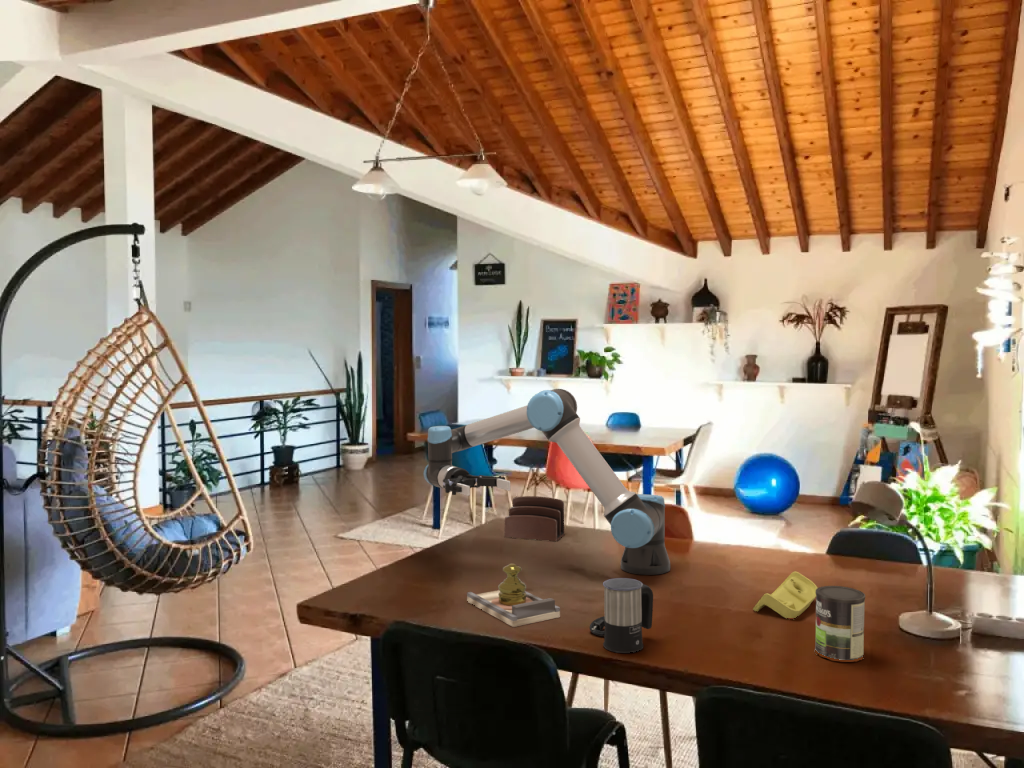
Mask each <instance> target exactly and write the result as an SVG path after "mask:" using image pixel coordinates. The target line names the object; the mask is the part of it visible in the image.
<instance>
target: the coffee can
mask: <svg viewBox="0 0 1024 768" xmlns="http://www.w3.org/2000/svg"><path fill="white" fill-rule="evenodd" d="M865 600H866V594H865V593H864V592H863V591H860V590H859V589H856V588H853V587H848V586H842V585H824V586H820V587H818V588H817V589H816V598H815V639H814V640H815V642H814V643H815V646H814V651H815V650H816V651H817V652H818V653H820V654H822V655H824V656H827V657H830V658H834V659H839V660H854V659H858V658H861V657H863V655H864V653H865V651H864V646H865V643H864V642H865V640H864V638H865V637H864V636H865ZM864 656H865V655H864Z"/></svg>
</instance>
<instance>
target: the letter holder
mask: <svg viewBox="0 0 1024 768" xmlns="http://www.w3.org/2000/svg"><path fill="white" fill-rule="evenodd" d="M564 536H565V503H564V501H563V500H562V499H560V498H559V499H558V498H554V497H547V496H546V497H545V496H536V495H534V496H532V495H530V496H529V495H528V496H526V495H525V496H523V495H522V496H516V497H513V498H512V506H511V507H509V509H508V515H507V516H505V517H504V538H505V537H513V538H512V539H516V538H524V539H523V540H529V539H536V540H535V541H542V540H549V541H548V542H556V541H557V542H558V541H560V540H561V539H562V538H563V537H564ZM561 537H562V538H561ZM560 538H561V539H560Z"/></svg>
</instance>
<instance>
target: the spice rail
mask: <svg viewBox="0 0 1024 768" xmlns="http://www.w3.org/2000/svg"><path fill="white" fill-rule="evenodd" d="M499 592H500V591H499V589H498V590H493V591H492V590H491V591H487V592H482V593H474V592H472V591H469V592H466V602H467V601H468V602H467V603H469V604H470V605H472V604H473V605H472V606H474V605H475V606H474V607H476V608H478V609H480V610H481V609H482V611H483V612H485V613H487V614H489V615H491V616H492V617H495V618H496V619H497V620H499V621H501V622H503V623H505V624H507V625H508V626H510V627H512V628H516V627H521V626H525V625H529V624H530V625H531V624H534V623H538V622H539V623H541V622H543V621H547V620H552V619H558V618H560V617H561V607H560V606H558V605H556V600H555V599H554V598H551V597H550V598H549V597H548V598H541V597H540V596H537V595H534V594H532V593H530V592H529V591H526V590H525V591H524V592H526V602H525V603H523V604H518V605H513V606H509V605H504V604H501V603H500V602H499V595H498V594H499Z"/></svg>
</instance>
